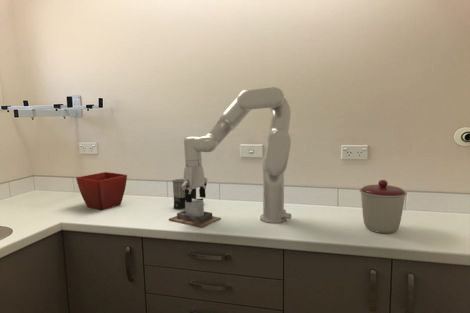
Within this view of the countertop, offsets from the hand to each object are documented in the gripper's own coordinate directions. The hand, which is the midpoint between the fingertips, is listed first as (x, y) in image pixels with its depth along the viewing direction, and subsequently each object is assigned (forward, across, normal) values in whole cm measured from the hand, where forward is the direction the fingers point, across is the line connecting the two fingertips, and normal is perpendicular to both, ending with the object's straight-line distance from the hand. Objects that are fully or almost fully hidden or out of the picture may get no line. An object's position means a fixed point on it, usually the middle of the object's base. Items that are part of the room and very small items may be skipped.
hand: (196, 199), depth 157 cm
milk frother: (+10, -17, -20) cm, 28 cm away
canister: (+13, -30, +75) cm, 82 cm away
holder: (+10, +1, -1) cm, 10 cm away
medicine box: (+9, +1, -1) cm, 9 cm away
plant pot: (+8, +8, -60) cm, 61 cm away
